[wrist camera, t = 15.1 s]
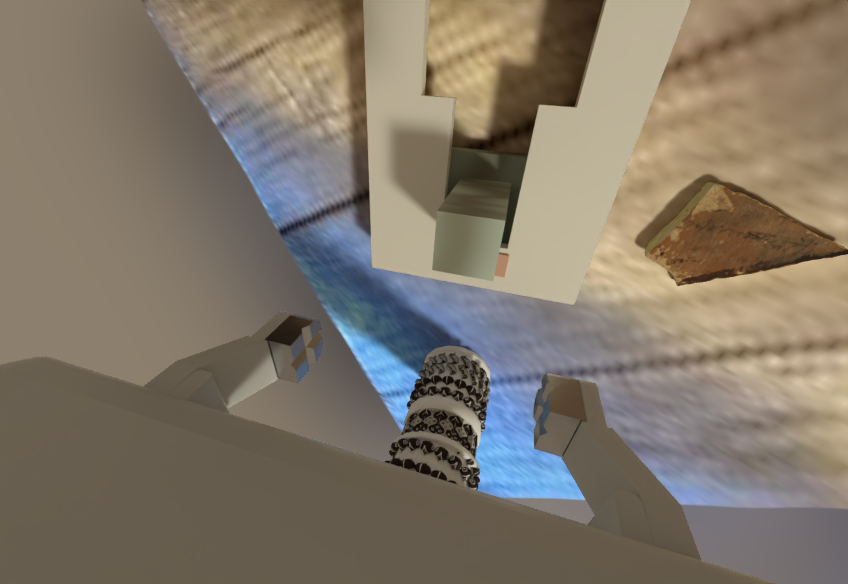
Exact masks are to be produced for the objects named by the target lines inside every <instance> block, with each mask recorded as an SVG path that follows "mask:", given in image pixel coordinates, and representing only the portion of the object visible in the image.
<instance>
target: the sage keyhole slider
mask: <svg viewBox="0 0 848 584" xmlns="http://www.w3.org/2000/svg"><path fill="white" fill-rule="evenodd" d="M527 156H528V155H526V154H516V153H507V152H498V151H488V150H479V149H470V148H460V147H452V149H451V159H450V169H449V179H448V190H447V198H446V199H445V201H444V202H443V203H442V205H441V206H440V208H439V209H438V210H437V218H436V230H435V241H434V253H433V265H432V270H434V271H440V272H445V273H451V274H456V275H462V276H467V277H473V278H478V279H484V280H489V281H493V280H494V275H495V270H496V265H497V260H498V255H499V251H500V246H501V243H505V244H508V242H509V238H510V233H511V229H512V224H513V219H514V215H515V210H516V206H517V201H518V197H519V192H520V188H521V183H522V178H523V174H524V169H525V165H526V160H527Z"/></svg>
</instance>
